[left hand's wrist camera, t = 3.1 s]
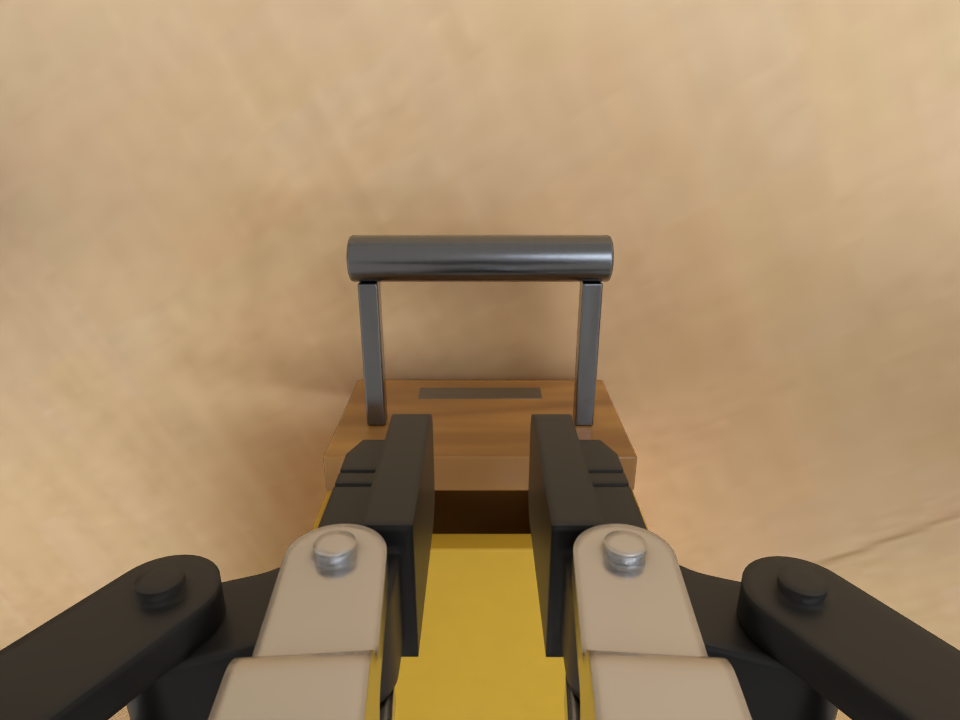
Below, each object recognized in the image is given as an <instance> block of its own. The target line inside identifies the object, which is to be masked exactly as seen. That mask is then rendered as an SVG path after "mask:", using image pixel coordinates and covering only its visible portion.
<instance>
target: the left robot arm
mask: <svg viewBox="0 0 960 720" xmlns="http://www.w3.org/2000/svg"><path fill="white" fill-rule="evenodd" d="M528 501H529V521H530V530H531V538H532V546H533V555H534V563H535V571H536V579H537V588H538V596H539V604H540V613H541V621H542V629H543V638H544V646H545V654H546V657H563V659H564V665H565V672H566V676H565V693H564V711H565V720H835V719H836V715H837V711H838V709H839V710H841V711H842V712H843V713H844V714H846V715H847V716H848V717H849V718H851V719H852V720H960V651H959V650H958V649H956V648H955V647H953V646H951V645H950V644H948V643H946V642H945V641H943V640H942V639H940V638H938V637H937V636H935V635H934V634H932V633H930V632H929V631H927V630H925V629H924V628H922V627H921V626H919V625H917V624H916V623H914V622H913V621H911V620H909V619H908V618H906V617H904V616H903V615H901V614H900V613H898V612H896V611H895V610H893V609H892V608H890V607H888V606H887V605H885V604H883V603H882V602H880V601H879V600H877V599H875V598H874V597H872V596H871V595H869V594H867V593H866V592H864V591H862V590H861V589H859V588H858V587H856V586H854V585H853V584H851V583H850V582H848V581H846V580H845V579H843V578H841V577H840V576H838V575H837V574H835V573H833V572H831V571H830V570H828V569H826V568H824V567H821V566H819V565H817V564H814V563H811V562H808V561H805V560H801V559H797V558H791V557H781V556H774V557H765V558H761V559H758V560H755V561H753V562H752V563H750V564H749V565H748V566H747V567H746V568H745V570H744V572H743V575H742V581H741V582H737V581H733V580H728V579H723V578H719V577H714V576H709V575H705V574H702V573H698V572H695V571H692V570H689V569H687V568H685V567H683V566H680V565H679V564H678V561H677V558H676V555H675V553H674V551H673V549H672V548H671V546H670V545H669V544H668V543H667V542H666V541H665V540H663V539H662V538H661V537H659V536H658V535H656V534H654V533H652V532H650V531H648V530H647V527H646V525H645V522H644V520H643V517H642V515H641V512H640V510H639V507H638V505H637V502H636V500H635V497H634V495H633V492H632V490H631V487H629V482H628V480H627V477H626V475H625V473H624V470H623V467H622V465H621V462H620V460H619V457H618V455H617V453H616V452H614V451H613V450H612V449H611V448H609V447H608V446H607V445H606V444H605V443H603V442H602V441H601V440H579V438H578V435H577V432H576V428H575V425H574V422H573V418H572V415H571V414H532V415H531V424H530V455H529V488H528ZM434 507H435V482H434V448H433V420H432V414H392V416H391V420H390V423H389V427H388V430H387V434H386V437H385V440H362V441H361V442H360V443H359V444H358V445H356V446H355V447H354V448H353V449H352V450H350V451H349V452H348V453H347V454H346V456H345V459H344V461H343V464H342V466H341V469H340V473H339V474H338V477H337V479H336V482H335V487H333V490H332V492H331V495H330V497H329V500H328V502H327V505H326V508H325V510H324V513H323V515H322V518H321V520H320V523H319V526H318V528H317V529H314V530H312V531H310V532H308V533H306V534H304V535H302V536H301V537H299V538H298V539H297V540H295V541H294V542H293V543H292V544H291V545H290V546H289V548H288V549H287V551H286V553H285V555H284V558H283V561H282V564H281V567H280V568H277V569H275V570H272V571H269V572H266V573H262V574H259V575H254V576H250V577H245V578H241V579H236V580H231V581H227V582H222V583H221V577H220V571H219V569H218V567H217V566H216V565H215V564H214V563H213V562H212V561H210V560H208V559H206V558H203V557H200V556H195V555H174V556H168V557H163V558H159V559H155V560H152V561H149V562H147V563H144V564H142V565H140V566H137V567H135V568H134V569H132V570H130V571H128V572H127V573H125V574H123V575H122V576H120V577H119V578H117V579H115V580H114V581H112V582H110V583H109V584H107V585H106V586H104V587H102V588H101V589H99V590H98V591H96V592H94V593H93V594H91V595H89V596H88V597H86V598H85V599H83V600H81V601H80V602H78V603H77V604H75V605H73V606H72V607H70V608H68V609H67V610H65V611H64V612H62V613H60V614H59V615H57V616H56V617H54V618H52V619H51V620H49V621H47V622H46V623H44V624H43V625H41V626H39V627H38V628H36V629H35V630H33V631H31V632H30V633H28V634H27V635H25V636H23V637H22V638H20V639H18V640H17V641H15V642H14V643H12V644H10V645H9V646H7V647H6V648H4V649H2V650H1V651H0V720H108V719H109V718H111V717H112V716H113V715H114V714H116V713H117V712H118V711H119V710H121V709H122V708H123V707H124V706H126V705H127V708H128V712H129V716H130V720H395V711H396V693H395V685H396V683H397V680H398V676H399V669H400V662H401V657H418V656H419V647H420V638H421V629H422V621H423V612H424V603H425V594H426V585H427V576H428V567H429V559H430V550H431V541H432V532H433V523H434Z"/></svg>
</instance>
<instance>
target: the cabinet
mask: <svg viewBox="0 0 960 720" xmlns="http://www.w3.org/2000/svg"><path fill="white" fill-rule="evenodd" d="M331 492H332V491H327V494H326V496H325V499H324V501H323V504H322V506H321V509H320V511H319V514H318V516H317V519H316V521H315V524H314V526H313V528H312V530H314V529H317V528H318V526H319V523H320V520H321V518H322V515H323V513H324V510H325V508H326V505H327V502H328V500H329V497H330V495H331ZM632 492H633V490H632ZM633 495H634V493H633ZM634 497H635V495H634ZM635 500H636V498H635ZM636 502H637V500H636ZM637 505H638V503H637ZM638 507H639V505H638ZM639 510H640V508H639ZM640 512H641V510H640ZM641 515H642V513H641ZM642 517H643V515H642ZM643 520H644V518H643ZM644 522H645V520H644ZM645 525H646V523H645ZM646 527H647V525H646ZM647 530H648V528H647ZM648 531H649V530H648ZM565 676H566V672H565V665H564V659H563V657H546V654H545V646H544V638H543V629H542V621H541V613H540V604H539V596H538V588H537V579H536V571H535V563H534V555H533V546H532V538H531V534H432V541H431V550H430V559H429V567H428V576H427V585H426V594H425V603H424V612H423V621H422V629H421V638H420V647H419V656H418V657H401V662H400V669H399V676H398V680H397V683H396V685H395V693H396V711H395V720H565V711H564V693H565Z"/></svg>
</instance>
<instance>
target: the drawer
mask: <svg viewBox="0 0 960 720" xmlns="http://www.w3.org/2000/svg"><path fill="white" fill-rule="evenodd" d="M613 262H614V249H613V242H612V239H611V237H610V236H608V235H353V236H350V237H349V240H348V244H347V269H348V274H349V277H350V279H351V281H354V282H359V283H358V296H359V311H360V325H361V340H362V355H363V369H364V380H359V381H358V382H357V384H356V386H355V389H354V391H353V393H352V395H351V398H350V400H349V402H348V404H347V406H346V409H345V411H344V413H343V415H342V417H341V420H340V422H339V424H338V426H337V428H336V431H335V433H334V435H333V437H332V439H331V442H330V444H329V446H328V448H327V451H326V453H325V455H324V457H323V459H324V469H325V480H326V488H327V490H328V491H332V490H333V487H335V482H336V479H337V477H338V474H339V473H340V469H341V466H342V464H343V461H344V459H345V456H346V454H347V453H348V452H349V451H350V450H352V449H353V448H354V447H355V446H356V445H358V444H359V443H360V442H361V441H362V440H385V437H386V434H387V430H388V427H389V423H390V420H391V416H392V414H432V420H433V448H434V482H435V507H434V523H433V532H432V534H531V530H530V521H529V501H528V488H529V455H530V424H531V415H532V414H571V415H572V418H573V422H574V425H575V428H576V432H577V435H578V438H579V440H601V441H602V442H603V443H605V444H606V445H607V446H608V447H609V448H611V449H612V450H613V451H614V452H616V453H617V455H618V457H619V460H620V462H621V465H622V467H623V470H624V473H625V475H626V477H627V480H628V482H629V487H631V490H633V489H634V484H635V474H636V463H637V456H636V454H635V452H634V450H633V447H632V445H631V443H630V441H629V439H628V436H627V434H626V432H625V430H624V428H623V425H622V423H621V421H620V419H619V417H618V414H617V412H616V410H615V408H614V405H613V403H612V401H611V399H610V397H609V394H608V392H607V390H606V388H605V386H604V383H603V381H602V380H596V376H597V361H598V347H599V332H600V317H601V303H602V288H603V284H602V283H601V282H607V281H609V280H610V278H611V275H612V271H613ZM380 282H580V295H579V313H578V331H577V349H576V367H575V380H386V379H385V361H384V343H383V326H382V308H381V290H380Z"/></svg>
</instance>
